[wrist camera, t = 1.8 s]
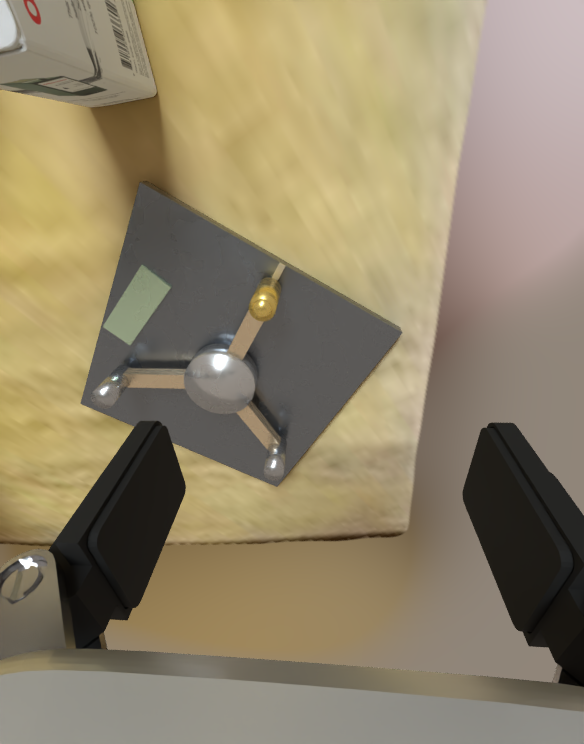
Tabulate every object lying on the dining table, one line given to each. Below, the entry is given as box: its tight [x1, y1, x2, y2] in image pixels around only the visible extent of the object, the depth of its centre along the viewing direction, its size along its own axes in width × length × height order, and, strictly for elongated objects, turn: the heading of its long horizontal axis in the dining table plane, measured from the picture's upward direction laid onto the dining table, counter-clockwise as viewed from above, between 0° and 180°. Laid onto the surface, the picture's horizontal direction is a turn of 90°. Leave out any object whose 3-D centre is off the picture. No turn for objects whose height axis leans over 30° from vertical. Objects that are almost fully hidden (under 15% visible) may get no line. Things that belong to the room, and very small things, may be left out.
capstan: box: [91, 277, 287, 481], centre depth 28 cm, size 15×17×5 cm
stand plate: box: [81, 181, 402, 487], centre depth 31 cm, size 22×22×1 cm
